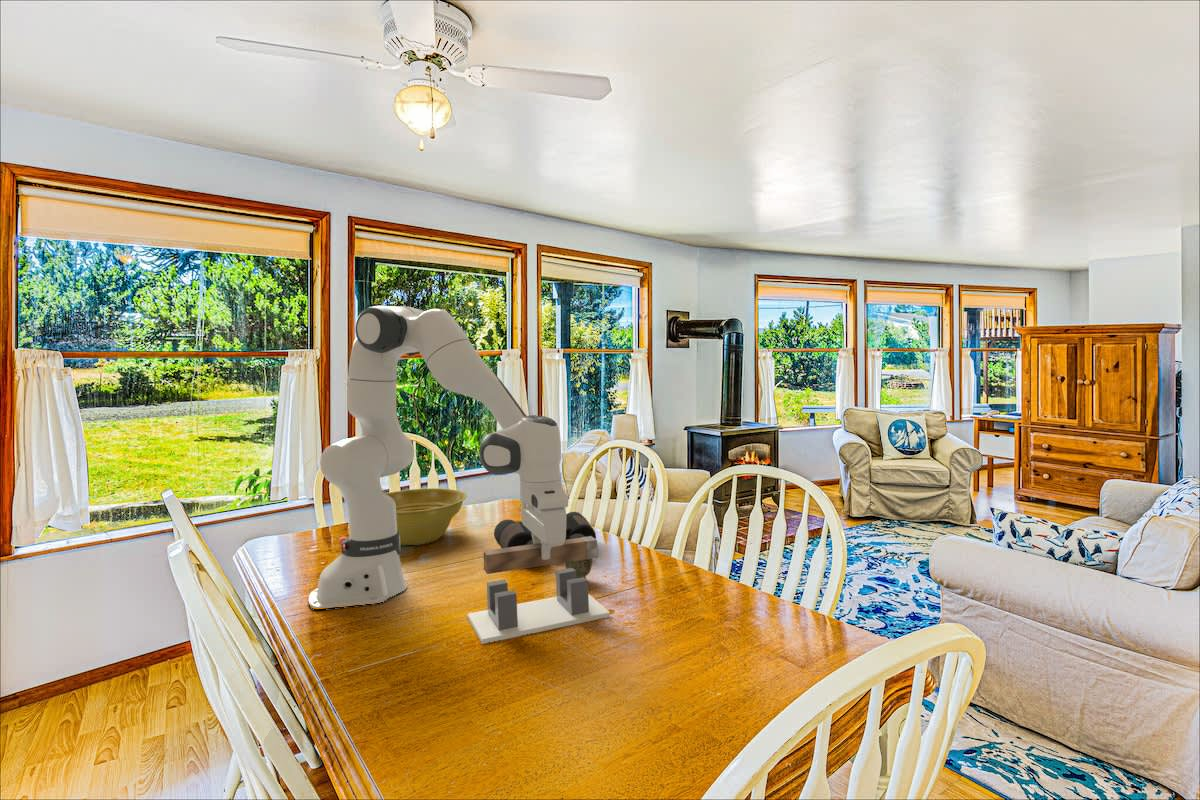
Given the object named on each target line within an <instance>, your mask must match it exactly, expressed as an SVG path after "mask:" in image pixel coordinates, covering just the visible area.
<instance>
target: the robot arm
mask: <svg viewBox="0 0 1200 800" xmlns="http://www.w3.org/2000/svg"><path fill="white" fill-rule="evenodd" d="M354 329H355V336H356V338H355V339H354V341H353V344H352V346H351V347H352V348H351V351H350V356H349V362H348V363H349V364H348V370H347V371H348V373H347V375H348V376H347V401H346V402H347V405H346V407H347V411H348V413H349V414H350V415H351V416H353V417H354V418H355V419H357V420H358V422H359V425H360V427H361V432H362V433H361V435H360V436H354V437H350V438H344V439H341V440H339V441H337V442H334V443H332V444H330V445H329V446H327V447H325V449H324V450H323V451H322V454H321V456H320V462H319V464H320V470H321V474H322V475H323V477H324V478H325V480H326V481H328V482H329V483H330V484H332V485H333V486H335V487H336V488H337V489H338V491H339V492H340V494H341V495H342V498H343V500H344V502H345V504H346V509H347V515H348V526H349V529H348V530H349V536H348V537H347V536H341V537H340V538H339V541H338V543H339V545H340V548H341V549H340V550H341V553H340V555H339V556H338V557H336V558H335V559H334V560H333V561H332V562H331V563H330V564H328V565H327V566H326V567H325V568H324V569H322V572H321V573H320V575H319V578H318V583H317V588H315V589H313V590H311V592H310V593H309V595H308V599H307V600H308V601H309V604H310V606H312V607H314V608H331V607H338V606H348V605H350V606H351V605H361V604H362V605H363V604H371V603H380V602H383V603H385V602H386V601H388V600H389V599H390V598H389V597H391V598H393V597H395V596H397V595H396V594H398V593H400V592H401V593H403V592H404V591H406V589H407V587H408V584H407V582H406V579H405V575H404V573H403V569H402V564H401V563H402V562H401V558H400V555H401V545H400V536H399V532H398V531H397V515H396V503H395V501H394V500H393V499H392V498H391V497H390V496H388V495H385V494H386V493H385V492H384V490H383V489H382V486H381V481H380V479H381V478H385V477H388V476H392V475H395V474H397V473H399V472H401V471H403V470H405V469H406V468H408V467H409V466H410V465H411V464H412V462H413V461H414V457H415V448H414V444H413V442H412V440H411V439H410V437H408V436H407V435H406V434H405V433H404V431H403V430H402V427H401V425H400V422H399V418H398V412H397V411H398V410H397V377H398V376H397V374H398V372H397V371H398V362H399V360H400V358H401V357H403V356H405V355H407V356H409V357H413V356H415V355H419V354H420V355H421V357H422V359H423V361H424V363H425V364H426V365H425V366H426V367H427V369H428V370H429V372H430V373H431V375H432V377H433V379H434V380H436V382H437V383H438V384H439V385H440V386H441V387H442V388H444V389H445V390H447V391H449V392H452V393H454V394H459V395H463V396H466V397H470V398H473V399H474V400H476V401H478V402H481V404H483V405H484V406H485V407H486V408H487V409H488V411H489V412H490V413H491V414H492V416H493V417H494V418H495V420H496V421H497V423H498V424H499V426H500V427H501V429H500V430H497V431H494V432H491V433H488V434H487V435H485V436H484V437H483V439H482V440H481V442H480V445H479V451H478V453H479V460H480V462H481V465H482V466H483V468H484V469H485V470H486V471H487V472H488V473H490V474H492V475H494V476H506V475H509V474H510V475H511V474H513V473H514V474H518V476H519V494H520V495H519V496H520V497H519V498H520V502H521V503H520V506H521V507H520V520H521V521H520V522H522V524H523V525H524V526H525V527H526V528H527V529H529V530H530V531H531V532H532V539H533V543H534V544H538V543H541V544H542V547H541V550H540V557H541V558H542V559H543V560H547V559H550V551H551V547H556V546H562V545H563V544H564V542H565V539H566V514H567V511H566V508H568V507H569V497H568V495H567V494H566V492H565V490H564V487H563V484H562V482H563V481H562V479H563V478H562V474H561V473H562V472H561V468H560V467H561V466H560V464H561V460H562V445H561V444H562V443H561V433H560V429H559V428H560V427H559V425H558V423H557V422H556V421H555V420H554V419H553V418H550V417H548V416H543V415H536V414H530V415H527V414H526V413H525V412H524V410H523V408H522V407H521V406H520V405H519V404H518V402H517V401H516V399H515V397H513V395H512V394H511V392H510V391H509V390H508V388H507V387H506V385H505V384H504V383H503V382H502V380H501V379H500V378H499V377H498V375H497V374H495V372H494V371H493V370H492V369H491V368H490V367H489V366H488V365H487V364H486V362H485V361H484V360H483V358H482V357H481V356H480V354H479V353H478V352H477V350H476V349H475V347H474V345H473V344H472V342H471V341H470V338H469V337H468V335H467V334H466V332H465V331H464V330H463V328H462V327H461V326H460V325H459V323H458V322H457V321H456V319H455V318H454V317H453V316H452V315H451V314H450V313H449V312H448V311H446V310H445V309H441V308H432V309H427V310H426V309H423V308H414V307H411V306H405V305H399V306H398V305H397V306H392V305H391V306H385V305H374V306H370V307H367V308H364V309H363V310H362V311H361V312H360V313H359V314H358V317H357V318H356V322H355V328H354ZM402 591H403V592H402ZM401 593H400V594H401ZM394 595H395V596H394ZM398 595H399V594H398ZM392 596H393V597H392ZM388 598H389V599H388ZM387 599H388V600H387ZM385 600H386V601H385ZM308 601H307V602H308ZM384 601H385V602H384ZM309 604H308V605H309ZM380 604H381V603H380ZM363 606H364V605H363Z"/></svg>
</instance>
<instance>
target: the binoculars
mask: <svg viewBox="0 0 1200 800" xmlns="http://www.w3.org/2000/svg"><path fill="white" fill-rule="evenodd" d="M493 536H494V539H495V541H496V544H498V545H499V546H500V549H501V548H508V547H516V546H523V545H530V544H534V543H533V539H532V532H531V531H530V530H529V529H527V528H526V527H525V526H524V525H523V524H522V521H515V520H512V519H503V520H501V521H500V522H498V524H496V526H495V528H494V531H493ZM588 536H592V537H593V538H595V539H596V540H597V534H596V531H595V530H594V528H593V527H592V525H591V524H590V523H589V520H588V519H587V518H586V517H585V516H584V515H582V514H581V513H579V511H570V512H568V513H566V539H565V540H568V539H575V538H581V537H588Z"/></svg>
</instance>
